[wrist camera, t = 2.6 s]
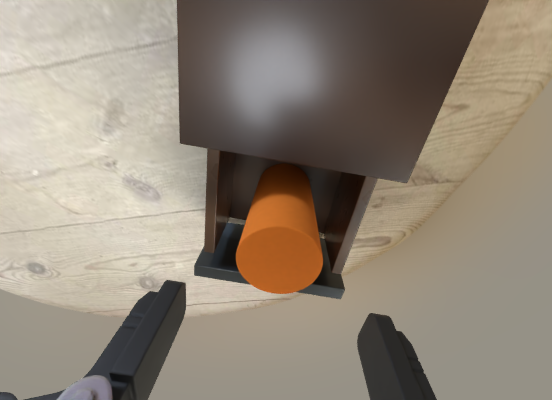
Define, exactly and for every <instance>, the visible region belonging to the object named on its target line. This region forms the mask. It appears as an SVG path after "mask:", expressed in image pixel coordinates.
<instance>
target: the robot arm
mask: <svg viewBox="0 0 552 400" xmlns="http://www.w3.org/2000/svg"><path fill="white" fill-rule="evenodd" d="M185 310H186V284H185V283H183V282H177V281H171V280H166V281H165V282H164V284H163V286H162V287H161V289H160V290H159V292H152V291H150V292H149V293H147V294H146V295H145V296H143V297H142V298H141V299H140V300H138V302H137V303H136V304H135V306H134V307H133V309H132V310H131V312H130V314H129V316H127V318H126V319H125V321H124V322H123V324H122V326H120V328H119V330H118V331H117V332H116V334H115V335H114V337H113V338H112V340H111V341H110V343H109V344H108V346H107V347H106V349H105V350H104V351H103V353H102V354H101V356H100V357H99V359H98V360H97V362H96V363H95V365H94V366H93V367H92V369H91V370H90V371H89V372H88V374H86V376H84V377H83V378H82V379H80V380H79V381H76V382H75V383H73V384H72V385H71V386H69V387H68V388H67V389H65V390H63V391H60V392H57V393H53V394H49V395H44V396H39V397H34V398H30V399H25V400H148V398H149V395H150V393H151V390H152V389H153V386H154V384H155V382H156V379H157V377H158V375H159V372H160V370H161V368H162V366H163V364H164V361H165V359H166V357H167V355H168V352H169V350H170V348H171V346H172V343H173V341H174V339H175V336H176V334H177V332H178V330H179V327H180V325H181V323H182V320H183V318H184V314H185ZM357 343H358V352H359V355H360V360H361V364H362V367H363V372H364V376H365V380H366V384H367V388H368V392H369V396H370V400H437V399H436V397H435V395H434V393H433V391H432V388H431V386H430V384H429V382H428V379H427V377H426V375H425V374H424V373H423V371H424V370H423V369H422V366H421V364H420V362H419V361H418V358H417V355H416V353H415V351H414V349H413V346H412V344H411V343H410V342H409V341H408V339H407V338H406V337H405V335H404V334H403V333H402V332H400V331H396V329H395V327H394V324H393V322H392V320H391V318H390V317H389V316H386V315H380V314H373V313H370V314H369V315H368V317H367V319H366V321H365V323H364V325H363V327H362V329H361V331H360V333H359V335H358V340H357ZM0 400H17V398H16V397H15V396H14V395H13V394H11V393H7V392H0Z"/></svg>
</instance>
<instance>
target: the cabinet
mask: <svg viewBox="0 0 552 400" xmlns="http://www.w3.org/2000/svg"><path fill="white" fill-rule="evenodd" d="M488 1H489V0H177V24H178V73H179V123H180V143H181V144H186V145H191V146H197V147H203V148H208V149H214V150H220V151H226V152H231V153H237V154H243V155H248V156H254V157H260V158H266V159H271V160H277V161H283V162H288V163H294V164H300V165H306V166H311V167H317V168H323V169H328V170H334V171H340V172H345V173H351V174H357V175H363V176H368V177H374V178H380V179H385V180H391V181H397V182H403V183H407V182H408V180H409V178H410V175H411V173H412V171H413V169H414V167H415V164H416V162H417V160H418V158H419V155H420V153H421V151H422V149H423V146H424V144H425V142H426V140H427V137H428V135H429V133H430V131H431V129H432V126H433V124H434V122H435V120H436V117H437V115H438V113H439V111H440V108H441V106H442V104H443V102H444V99H445V97H446V95H447V93H448V91H449V88H450V86H451V84H452V82H453V79H454V77H455V75H456V73H457V70H458V68H459V66H460V64H461V62H462V59H463V57H464V55H465V53H466V50H467V48H468V46H469V44H470V41H471V39H472V37H473V35H474V32H475V30H476V28H477V26H478V24H479V21H480V19H481V17H482V15H483V12H484V10H485V8H486V6H487V3H488Z"/></svg>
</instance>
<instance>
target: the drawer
mask: <svg viewBox="0 0 552 400" xmlns="http://www.w3.org/2000/svg"><path fill="white" fill-rule="evenodd" d="M277 164H291V165H294V166H296V167H298V168H300V169H301V170H302V171H303V172H304V173H305V174H306V175H307V177H308V179H309V182H310V186H311V192H312V198H313V203H314V209H315V215H316V221H317V226H318V232H320V233H324V238H325V239H323V238H320V244H321V249H322V255H323V266H322V269H321V272H320V274H319V276H318V277H317V278H316V280H315V281H314V282H313V283H312V284H310V285H309V286H308V287H306V288H304V289H302V290H299V291H296V292H299V293H306V294H312V295H318V296H324V297H331V298H336V299H341V298H342V295H343V293H344V291H345V288H344V284H343V280H342V276H341V273H342V270H343V267H344V265H345V262H346V260H347V257H348V254H349V252H350V249H351V247H352V244H353V241H354V239H355V236H356V234H357V231H358V228H359V226H360V223H361V220H362V218H363V215H364V213H365V210H366V207H367V205H368V202H369V200H370V197H371V194H372V192H373V189H374V187H375V184H376V181H377V179H378V178H374V177H368V176H363V175H357V174H351V173H345V172H340V171H334V170H328V169H323V168H317V167H311V166H306V165H300V164H294V163H288V162H283V161H277V160H271V159H266V158H260V157H254V156H248V155H243V154H237V153H231V152H226V151H220V150H214V149H208V153H207V183H206V213H205V243H204V247H203V249H202V251H201V253H200V255H199V257H198V259H197V261H196V263H195V265H194V275H195V276H201V277H207V278H214V279H220V280H226V281H232V282H238V283H244V284H250V283H248V282H247V281H246V280H245V279H244V278H243V276H242V275H241V273H240V272H239V270H238V267H237V264H236V252H237V248H238V245H239V242H240V239H241V236H242V232H243V229H244V226H245V225H240V224H234V223H228V220H229V218H230V217H231V218H237V219H243V220H247V217H248V213H249V210H250V207H251V204H252V201H253V198H254V194H255V191H256V188H257V185H258V182H259V179H260V177H261V175H262V174H263V173H264V172H265V170H267V169H268V168H270V167H271V166H274V165H277ZM250 285H251V284H250Z"/></svg>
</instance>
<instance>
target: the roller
mask: <svg viewBox="0 0 552 400" xmlns="http://www.w3.org/2000/svg"><path fill="white" fill-rule="evenodd" d="M236 264H237V267H238V270H239V272H240V273H241V275H242V276H243V278H244V279H245V280H246V281H247V282H248V283H250V284H251V285H253V286H254V287H256V288H258V289H260V290H263V291H266V292H270V293H277V294H286V293H293V292H296V291H299V290H302V289H304V288H306V287H308V286H309V285H310V284H312V283H313V282H314V281H315V280H316V278H317V277H318V276H319V274H320V272H321V269H322V266H323V255H322V249H321V244H320V238H319V232H318V226H317V221H316V215H315V209H314V203H313V198H312V192H311V186H310V182H309V179H308V177H307V175H306V174H305V173H304V172H303V171H302V170H301V169H300V168H298V167H296V166H294V165H291V164H277V165H274V166H271V167H270V168H268V169H267V170H265V172H264V173H263V174H262V175H261V177H260V179H259V182H258V185H257V188H256V191H255V194H254V198H253V201H252V204H251V207H250V210H249V213H248V217H247V220H246V223H245V226H244V229H243V232H242V236H241V239H240V242H239V245H238V248H237V252H236Z"/></svg>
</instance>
